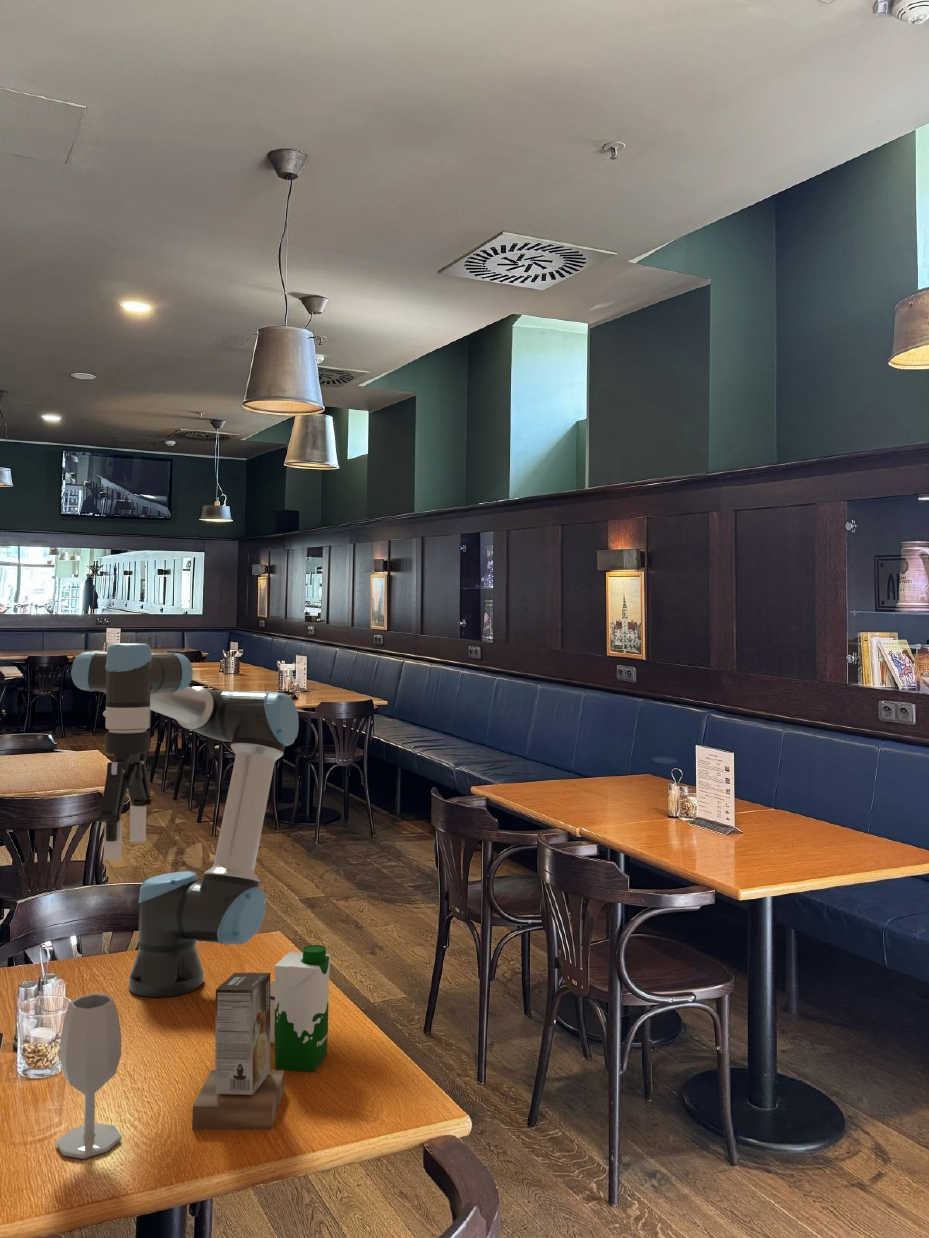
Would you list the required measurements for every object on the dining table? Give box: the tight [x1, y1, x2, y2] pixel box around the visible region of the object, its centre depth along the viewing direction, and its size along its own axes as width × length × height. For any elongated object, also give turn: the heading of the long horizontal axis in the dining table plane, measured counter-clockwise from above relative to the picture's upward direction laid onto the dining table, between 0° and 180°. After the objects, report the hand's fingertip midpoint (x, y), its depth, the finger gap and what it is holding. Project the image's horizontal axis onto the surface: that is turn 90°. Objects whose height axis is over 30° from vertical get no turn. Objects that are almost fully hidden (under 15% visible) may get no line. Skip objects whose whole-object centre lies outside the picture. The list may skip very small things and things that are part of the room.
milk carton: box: [274, 944, 332, 1073], centre depth 169 cm, size 9×9×20 cm
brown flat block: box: [191, 1069, 285, 1131], centre depth 152 cm, size 12×12×4 cm
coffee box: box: [214, 972, 272, 1095], centre depth 153 cm, size 9×6×16 cm
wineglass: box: [55, 992, 123, 1160], centre depth 141 cm, size 9×9×21 cm
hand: (125, 850), depth 170 cm, fingers open, 13 cm apart
